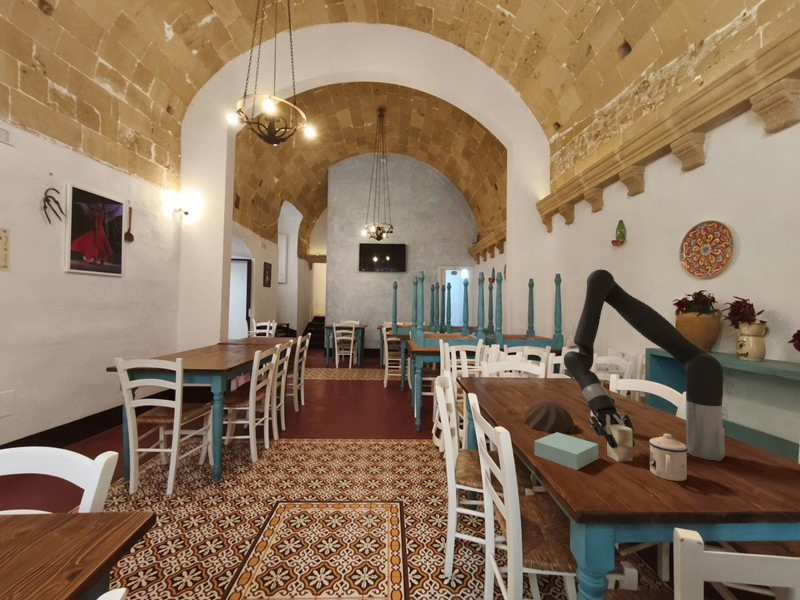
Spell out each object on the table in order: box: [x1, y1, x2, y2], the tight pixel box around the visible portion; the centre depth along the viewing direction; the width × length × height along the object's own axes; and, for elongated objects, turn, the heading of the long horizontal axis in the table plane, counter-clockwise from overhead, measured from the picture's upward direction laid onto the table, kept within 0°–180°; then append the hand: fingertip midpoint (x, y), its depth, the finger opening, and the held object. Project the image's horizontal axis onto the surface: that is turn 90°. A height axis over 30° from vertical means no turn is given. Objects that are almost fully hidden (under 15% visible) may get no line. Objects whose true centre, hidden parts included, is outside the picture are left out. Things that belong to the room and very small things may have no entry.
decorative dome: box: [523, 400, 575, 434], centre depth 151 cm, size 19×20×10 cm
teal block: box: [533, 432, 599, 471], centre depth 119 cm, size 14×14×5 cm
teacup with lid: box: [648, 433, 688, 482], centre depth 105 cm, size 12×9×12 cm
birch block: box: [606, 424, 634, 462], centre depth 118 cm, size 5×5×10 cm
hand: (623, 446), depth 117 cm, fingers open, 5 cm apart
